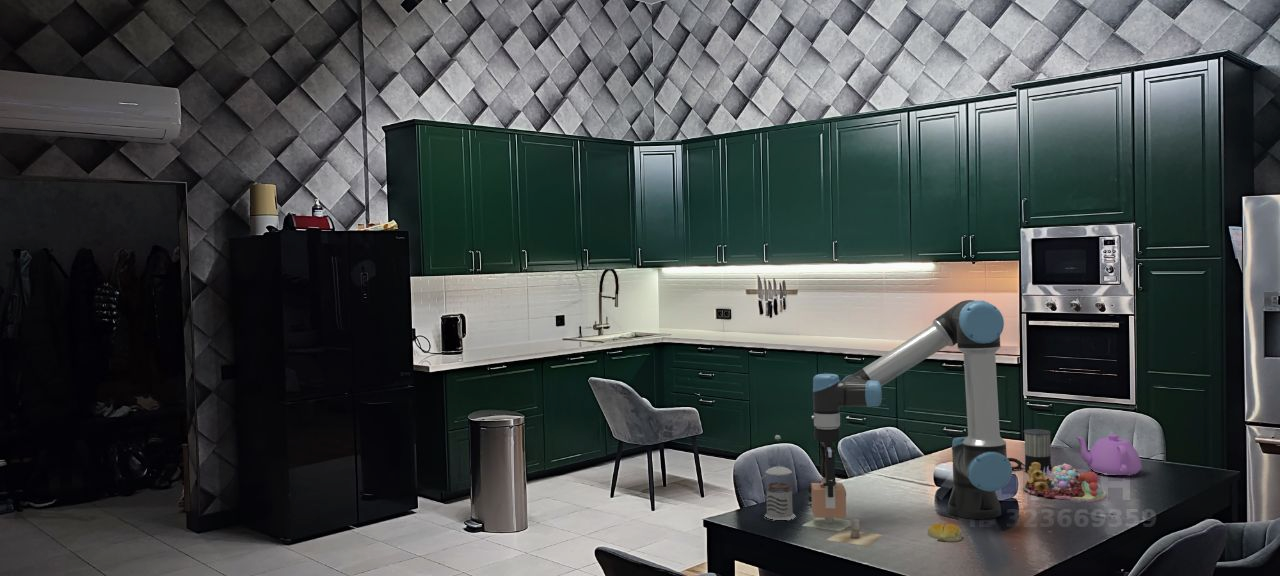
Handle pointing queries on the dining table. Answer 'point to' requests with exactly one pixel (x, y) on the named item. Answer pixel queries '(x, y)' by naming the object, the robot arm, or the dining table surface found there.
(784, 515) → the french press
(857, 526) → the stand
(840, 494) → the collar
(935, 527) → the bread roll
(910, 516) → the dining table surface
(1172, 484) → the dining table surface
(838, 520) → the green base with peg
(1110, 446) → the teapot
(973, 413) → the robot arm
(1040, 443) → the milk frother
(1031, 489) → the plate of food
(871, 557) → the dining table surface
